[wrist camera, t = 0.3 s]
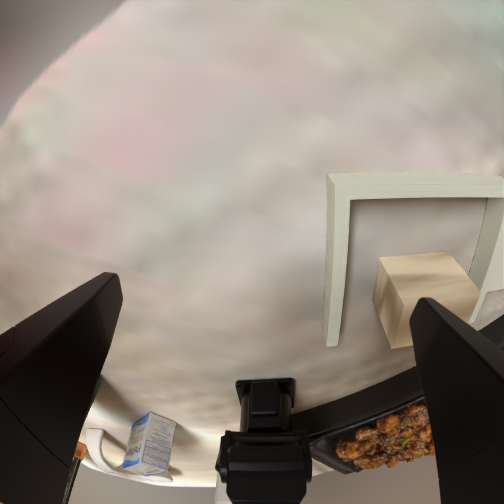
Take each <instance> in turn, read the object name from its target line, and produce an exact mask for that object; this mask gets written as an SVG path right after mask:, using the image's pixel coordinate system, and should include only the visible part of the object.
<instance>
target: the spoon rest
mask: <svg viewBox="0 0 504 504" xmlns="http://www.w3.org/2000/svg"><path fill="white" fill-rule="evenodd" d="M103 435H104V431H103V430H102V429H87V431H86V445H87V449H88V452H89V454H90V456H91V458H92V459H93V461H94V462H95V463H96V464H97V466H98V467H100V468H101V469H102V470H104V471H106V472H109V473H115V472H116V473H119V474H123V475H130V476H133V477H136V478H140V479H143V480H148V481H154V482H172V481H173V479H172V477H171V475H170V473H169V472H168V471H166V472H162V473H158V474H154V475H150V476H142V475H139V474H136V473H133V472H130V471H128V470H126V469H123V468H122V466H123V464H121V465H120V466H118V467H112V466H111V465H110V464H109V463H108V462H107V461H106V460H105V458H104V457H103V454H102V449H101V446H102V439H103Z"/></svg>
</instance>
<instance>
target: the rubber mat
mask: <svg viewBox="0 0 504 504" xmlns="http://www.w3.org/2000/svg"><path fill="white" fill-rule="evenodd" d="M500 289H504V242H503V246H502V249H501V252H500V255H499V258H498V262H497V265H496V268H495V270H494V273H493V276H492V279H491V282H490V284H489V287H488V290H487V292H491V291H496V290H500Z"/></svg>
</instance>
